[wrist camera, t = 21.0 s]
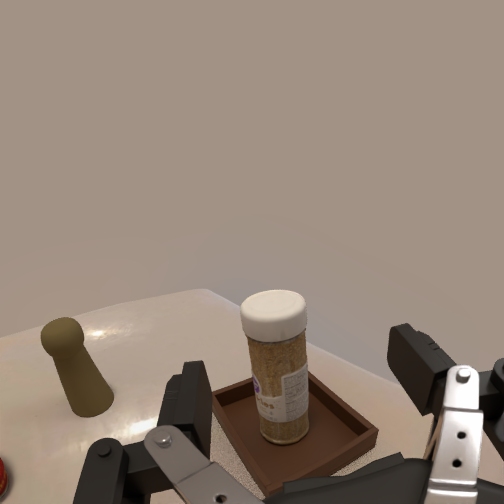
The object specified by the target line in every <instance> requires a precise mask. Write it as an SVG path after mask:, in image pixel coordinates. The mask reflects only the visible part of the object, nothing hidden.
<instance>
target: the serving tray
mask: <svg viewBox="0 0 504 504" xmlns="http://www.w3.org/2000/svg"><path fill="white" fill-rule="evenodd" d="M212 399H213V403H212V411H213V413H214V415H215V417H216V418H217V420H218V422H219V424H220V425H221V427H222V429H223V431H224V432H225V434H226V436H227V437H228V439H229V441H230V442H231V444H232V446H233V447H234V449H235V451H236V452H237V454H238V456H239V457H240V459H241V460H242V462H243V464H244V465H245V467H246V468H247V470H248V471H249V473H250V475H251V476H252V478H253V479H254V481H255V482H256V484H257V485H258V487H259V488H260V490H261V491H262V493H263V494H264V495H265V497H266V498H267V497H268V496H270V495H272V494H274V493H276V492H278V491H281V490H283V484H282V482H287V481H293V480H299V479H304V478H309V477H325V476H330V475H331V474H333V473H335V472H337V471H338V470H340V469H341V468H343V467H345V466H346V465H348V464H350V463H351V462H353V461H354V460H356V459H357V458H359V457H360V456H362V455H363V454H365V453H366V452H368V451H369V450H371V449H372V448H374V447H375V443H376V439H377V435H378V431H379V429H378V428H376V427H375V426H374V425H373V424H371V423H370V422H369V421H368V420H366V419H365V418H364V417H363V416H361V415H360V414H359V413H358V412H356V411H355V410H354V409H353V408H352V407H350V406H349V405H348V404H347V403H346V402H344V401H343V400H342V399H341V398H340V397H338V396H337V395H336V394H335V393H334V392H332V391H331V390H330V389H329V388H328V387H326V386H325V385H324V384H323V383H322V382H321V381H319V380H318V379H317V378H316V377H315V376H314V375H312V374H311V373H310V372H309V371H308V420H309V430H308V432H307V434H306V435H305V436H304V437H303V438H302V439H300V440H299V441H297V442H295V443H292V444H287V445H280V444H274V443H271V442H269V441H268V440H266V439H265V438H264V437H263V436H262V434H261V432H260V418H259V411H258V409H257V403H256V396H255V389H254V383H253V377H252V378H249V379H246V380H244V381H241V382H238V383H236V384H233V385H230V386H227V387H225V388H222V389H219V390H216V391H213V392H212Z"/></svg>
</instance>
